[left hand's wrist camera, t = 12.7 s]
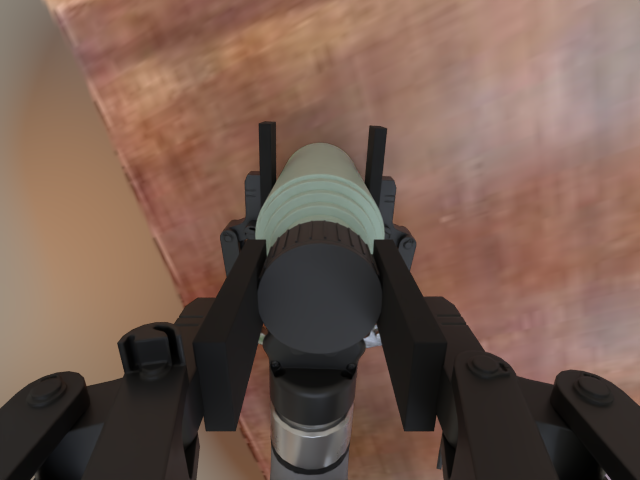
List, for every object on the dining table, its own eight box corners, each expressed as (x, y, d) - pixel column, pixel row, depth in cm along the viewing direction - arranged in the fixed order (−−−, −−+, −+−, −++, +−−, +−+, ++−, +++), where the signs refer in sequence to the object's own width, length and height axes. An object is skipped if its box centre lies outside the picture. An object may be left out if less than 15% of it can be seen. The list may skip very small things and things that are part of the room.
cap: (360, 325, 15) (367, 363, 13) (258, 308, 15) (247, 344, 13) (386, 230, 14) (399, 255, 12) (273, 209, 14) (264, 230, 11)
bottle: (348, 222, 33) (385, 382, 14) (277, 209, 32) (218, 355, 14) (365, 151, 30) (437, 227, 12) (289, 135, 30) (237, 189, 11)
